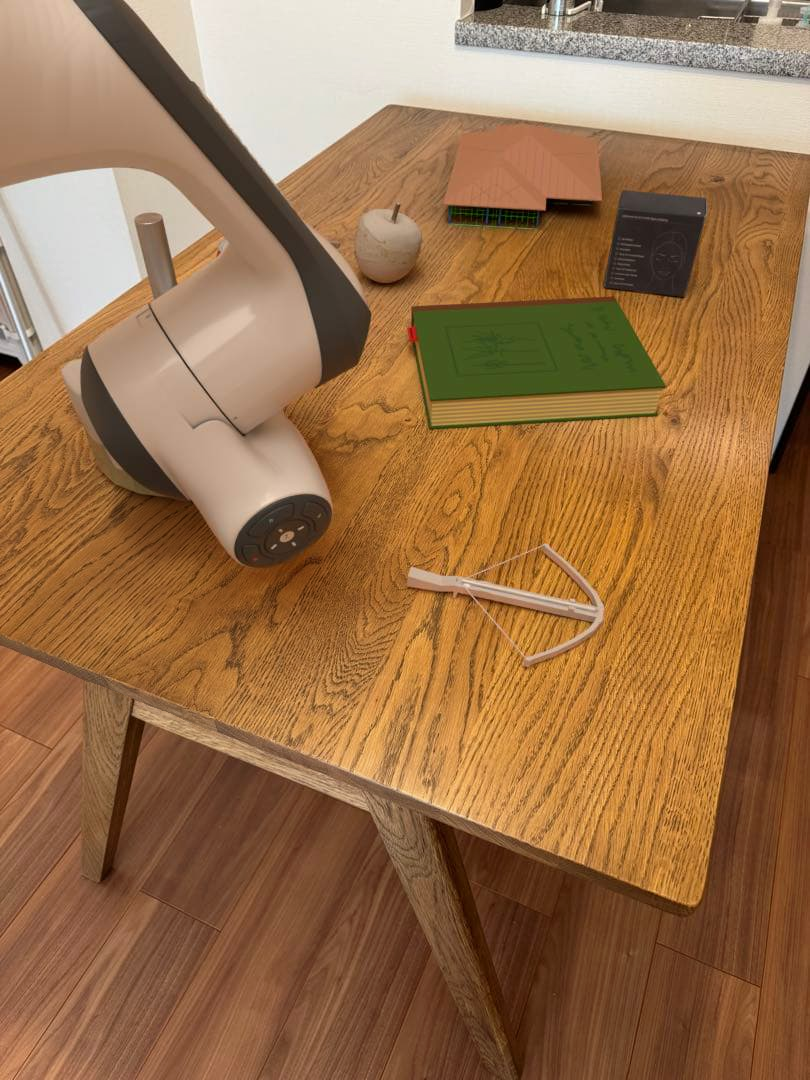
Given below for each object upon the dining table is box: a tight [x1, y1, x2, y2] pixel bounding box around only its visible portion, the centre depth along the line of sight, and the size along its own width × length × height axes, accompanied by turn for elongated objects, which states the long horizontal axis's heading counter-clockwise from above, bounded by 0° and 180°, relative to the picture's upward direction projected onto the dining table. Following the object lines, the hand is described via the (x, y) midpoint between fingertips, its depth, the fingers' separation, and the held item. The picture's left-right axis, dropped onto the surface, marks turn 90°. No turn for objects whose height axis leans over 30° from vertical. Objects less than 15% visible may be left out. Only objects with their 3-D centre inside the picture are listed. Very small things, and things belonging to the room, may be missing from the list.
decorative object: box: [353, 201, 423, 284], centre depth 100 cm, size 9×9×10 cm
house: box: [442, 123, 603, 231], centre depth 123 cm, size 23×33×8 cm
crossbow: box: [406, 543, 605, 668], centre depth 64 cm, size 16×13×2 cm
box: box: [602, 189, 708, 298], centre depth 99 cm, size 11×7×10 cm, turn 74°
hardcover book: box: [406, 296, 667, 430], centre depth 87 cm, size 25×19×4 cm
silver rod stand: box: [133, 212, 178, 301], centre depth 69 cm, size 7×7×22 cm
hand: (172, 326), depth 69 cm, fingers closed on silver rod stand, 2 cm apart
